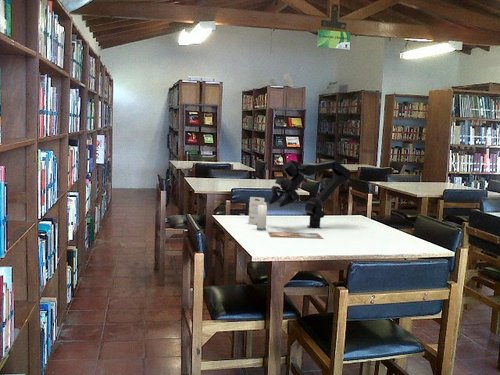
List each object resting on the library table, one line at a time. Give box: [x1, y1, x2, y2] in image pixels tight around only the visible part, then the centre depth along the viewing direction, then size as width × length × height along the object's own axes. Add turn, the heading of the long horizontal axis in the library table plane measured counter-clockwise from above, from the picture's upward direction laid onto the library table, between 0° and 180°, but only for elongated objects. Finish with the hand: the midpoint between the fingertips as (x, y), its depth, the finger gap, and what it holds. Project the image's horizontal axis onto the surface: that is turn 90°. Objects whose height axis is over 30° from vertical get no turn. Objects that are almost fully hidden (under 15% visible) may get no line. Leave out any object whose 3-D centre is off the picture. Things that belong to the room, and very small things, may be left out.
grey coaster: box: [299, 232, 318, 239], centre depth 246 cm, size 9×9×1 cm
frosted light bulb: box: [256, 204, 268, 232], centre depth 254 cm, size 4×4×13 cm
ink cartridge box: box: [247, 196, 267, 226], centre depth 274 cm, size 9×5×15 cm, turn 74°
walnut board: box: [267, 231, 324, 240], centre depth 245 cm, size 13×25×1 cm, turn 95°
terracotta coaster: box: [272, 231, 291, 237], centre depth 245 cm, size 9×9×1 cm
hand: (274, 205), depth 257 cm, fingers open, 9 cm apart
